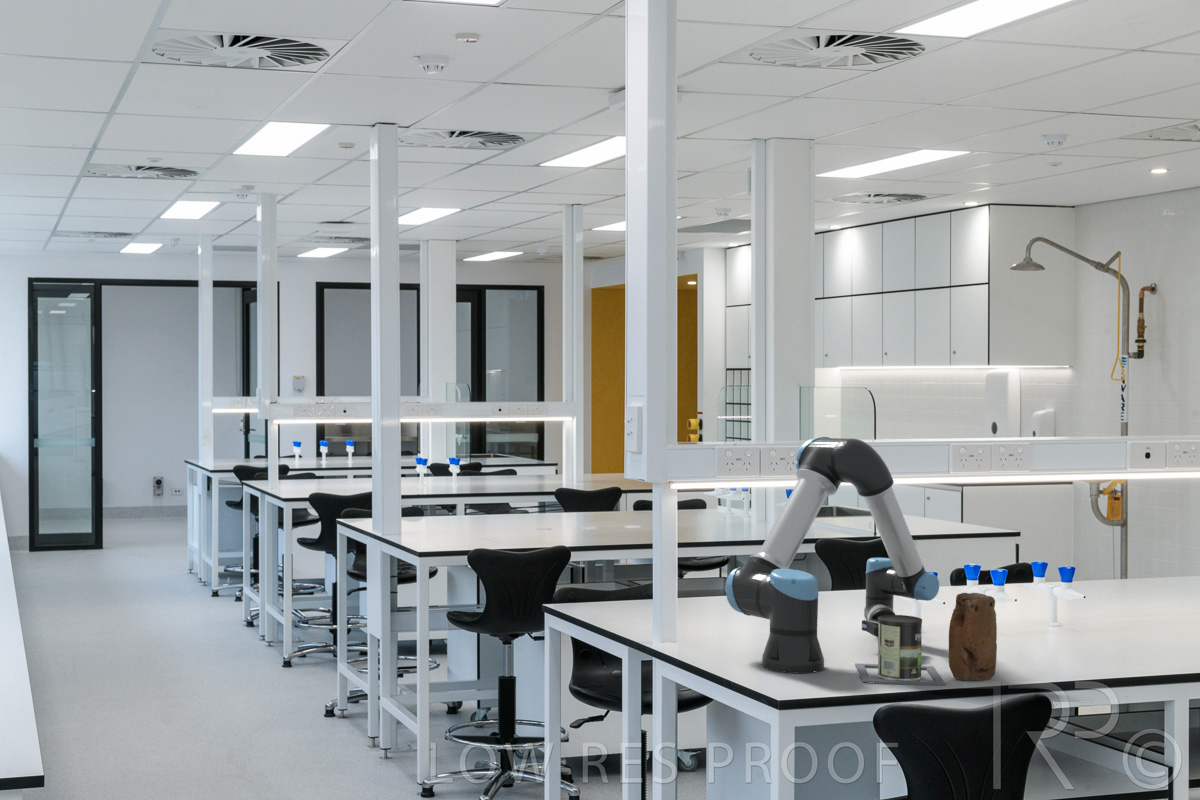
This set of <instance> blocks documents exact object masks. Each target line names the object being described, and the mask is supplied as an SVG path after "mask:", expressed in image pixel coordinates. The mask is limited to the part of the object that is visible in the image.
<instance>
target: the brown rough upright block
mask: <svg viewBox="0 0 1200 800" xmlns="http://www.w3.org/2000/svg"><path fill="white" fill-rule="evenodd" d="M995 605H996V600H995V597H993V596H991V595H986V594H984V593H980V592H979V593H978V592H970V593H968V592H962V593H958V594H957V595H956V597H955V608H954V609H953V610H952V615H951V617H950V620H949V621H950V622H949V627H948V665H949V670H950V672H951V674H952V677H953V678H955V679H957V680H959V681H961V680H962V681H970V680H974V681H977V680H978V681H979V680H988V679H991V678H993V677H994V676H995V675H996V668H997V649H998V647H997V645H998V644H997V637H998V636H997V633H998V632H997V629H998V628H997V613H996V610H995Z"/></svg>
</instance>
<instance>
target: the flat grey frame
mask: <svg viewBox="0 0 1200 800" xmlns="http://www.w3.org/2000/svg"><path fill="white" fill-rule="evenodd" d="M854 666H855V669H856V668H857V669H856V671H857V670H858V671H857V673H858V672H859V673H858V675H859V674H860V676H859V678H860V677H861V678H860V679H862V680H861V682H862V681H863V682H872V683H871V684H878V683H882V685H905V686H906V685H907V686H909V685H910V686H936V687H947V683H946V682H945V680H944V679H943V678H942V676H941V674H940V673H939V672H938V671H937V669H936V668H935V666H933V665H921V671H922V670H923V671H926V672H927V671H928V672H927V673H928V674H929V676H930V677H931V679H932V680H933V681H930V680H929V681H928V680H925V681H924V680H918V681H906V680H885V679H881V678H880V679H879V678H878V679H877V678H875V679H874V678H871V677H870V675H869V673H868V670H867V669H866V667H875V668H874V669H878V663H854ZM876 667H877V668H876ZM873 682H874V683H873Z"/></svg>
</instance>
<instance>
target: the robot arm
mask: <svg viewBox="0 0 1200 800" xmlns="http://www.w3.org/2000/svg"><path fill="white" fill-rule="evenodd" d="M795 461H796V463H795V468H796V472H795V473H796V474H795V475H796V477H797V483H796V484H795V485H794V488H793V490H792V492H791V493H790V495H789V497H788V498H787V500H786V503H784V506H783V508H782V509H781V511H780V512H779V515H778V516H777V518H776V520H775V523H774V524H773V525H772V527H771V529H770V531H769V533H768V535H767V537H766V539H765V540H764V542H763V544H762V545H761V547H760V550H759V551H758V552H757V553H755V554H751V555H750V556H749V557H748V559H747V560H746V562H745V564H744V566H739V567H737V568H734V569H733V570H731V571H730V573H729V574H728V576H727V578H726V582H725V593H726V600H727V603H729V605H730V607H731V608H732V609H733V610H734V611H736V612H738V613H741V614H743V615H745V616H749V617H750V616H752V617H757V618H762V619H765V620H769V634H768V639H767V641H766V645H765V647H764V650H763V653H762V656H761V657H762V658H761V666H762V667H763V668H764V667H765V669H767V668H768V669H767V670H770V669H772V670H771V671H774V670H777V671H776V672H779V671H785V672H784V673H787V672H811V673H815V672H814V671H817V672H820V670H821V671H823V670H824V669H825V658H824V655H823V652H822V651H823V650H822V648H821V645H820V641H819V637H818V612H819V611H818V610H819V609H818V608H819V589H818V580H817V578H816V577H815V576H814V575H812V574H811V573H809V572H807V571H803V570H799V569H793V568H790V566H791V564H792V563H793V560H794V558H795V556H796V555H797V553H798V551H799V549H800V547H801V546H802V543H803V542H804V540H805V539H806V536H807V535H808V532H809V530H810V529H811V527H812V525H813V523H814V521H815V519H816V517H817V516H818V514H819V512H820V510H821V509H822V506H823V505H824V502H825V501H826V499H827V497H828V496H834V495H835V494H836V493H837V491H838V489H839V487H840V485H841V484H842V483H845V484H846V483H847V484H849V483H850V484H851V485H853V486H854V487H855V489H856V491H857V494H858V496H860V497H862V498H864V500H865V502H866V505H867V507H868V510H869V512H870V514H871V517H872V519H873V521H874V524H875V527H876V528H877V531H878V534H879V536H880V539H881V541H882V543H883V546H884V548H885V550H886V552H887V553H886V554H887V555H888V557H870V558H868V559H867V561H866V568H865V569H866V571H865V606H864V610H863V611H864V612H863V615H864V616H863V617H864V619H863V620H861V631H863V632H867V633H869V634H870V635H872V636H874V637H875V638H878V626H879V621H878V617H879V616H883V615H896V613H895V612H894V596H897V597H903V598H908V599H914V600H916V601H927V602H928V601H932V600H933V599H935V597H936V596H937V595H938V594H939V590H940V581H939V578H938V576H936V575H935V574H934V573H932V572H929V571H926V570H925V566H924V565H923V562H922V559H921V557H920V555H919V554H920V553H919V552H918V549H917V547H916V545H915V542H914V538H913V537H912V534H911V532H910V529H909V527H908V525H907V524H908V523H906V519H905V517H904V515H903V512H902V510H901V507H900V505H899V501H898V499H897V497H896V495H895V492H894V489H893V485H894V484H895V483H894V479H893V476H892V474H891V472H890V470H889V467H888V466H887V464H886V462H885V461H884V459H883V458H882V457H881V456H880V454H879V453H878V452H877V451H876V450H875V449H874V448H873V447H872V446H871V445H870V444H868V443H866V442H865V441H863V440H861V439H858V438H839V437H838V438H832V437H829V436H820V437H813V438H809V439H808V440H806V441H805V442H804V443H802V445H800V447H799V449H798V451H797V452H796V457H795Z"/></svg>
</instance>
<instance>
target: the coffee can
mask: <svg viewBox="0 0 1200 800" xmlns="http://www.w3.org/2000/svg"><path fill="white" fill-rule="evenodd" d="M878 621H879V626H878V637H877V639H878V640H877V641H878V642H877V644H878V645H877V646H878V647H877V649H878V650H877V652H878V653H877V662H878V663H877V664H878V668H877V670H878V671H877V677H878V678H880V679H881V680H906V681H922V670H921V666H922V635H923V634H922V633H923V631H922V629H923V628H922V626H923V625H922V624H923V619H922V618H921V617H917V616H913V615H904V614H895V615H883V616H879V617H878Z"/></svg>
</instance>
